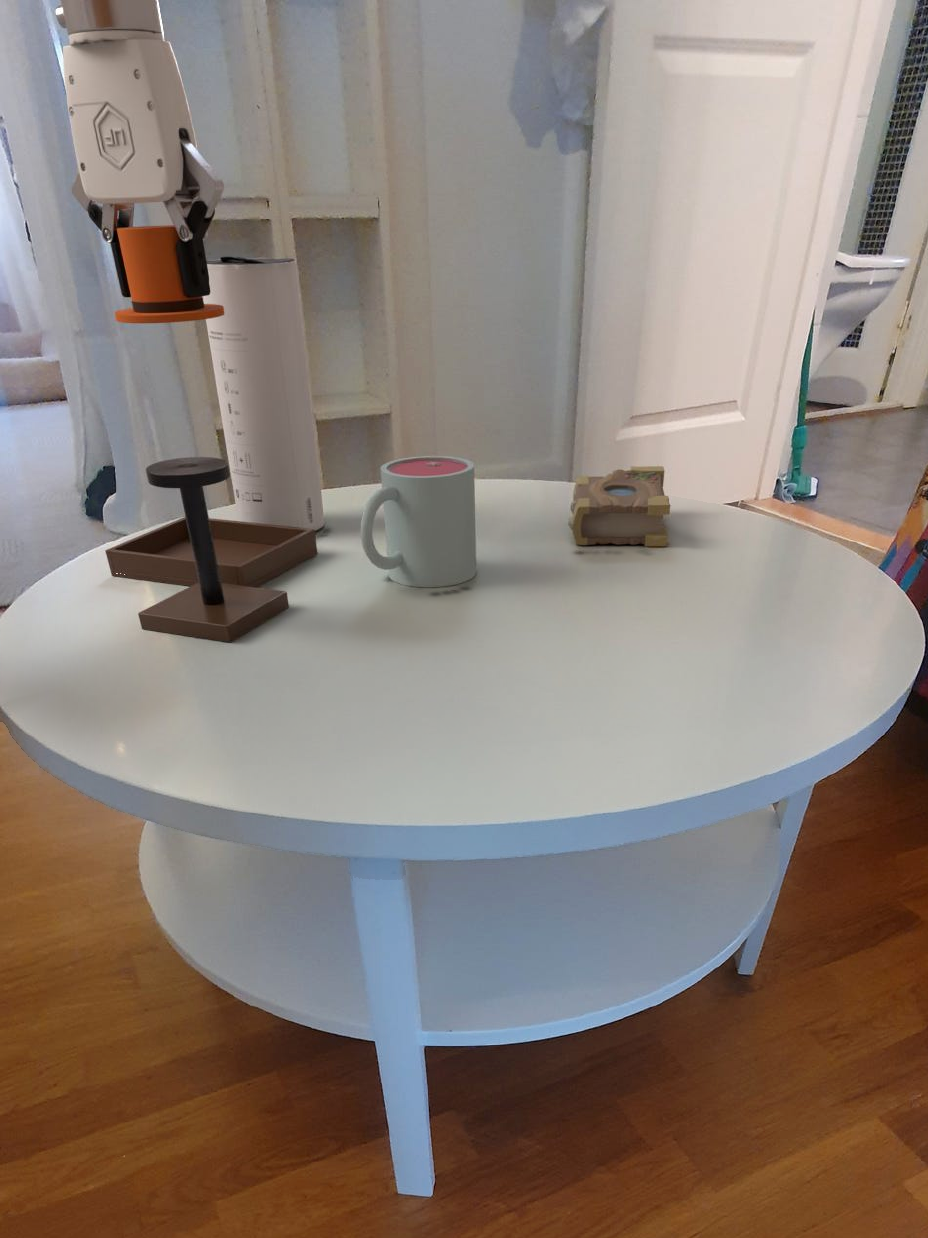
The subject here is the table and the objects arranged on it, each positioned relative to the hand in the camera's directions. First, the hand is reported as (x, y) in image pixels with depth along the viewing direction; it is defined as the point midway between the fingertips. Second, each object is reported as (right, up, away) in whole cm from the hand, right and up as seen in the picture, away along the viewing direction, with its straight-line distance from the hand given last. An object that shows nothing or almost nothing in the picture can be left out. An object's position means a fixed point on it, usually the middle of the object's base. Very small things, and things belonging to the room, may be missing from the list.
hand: (166, 294), depth 87 cm
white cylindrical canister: (+6, -9, +26) cm, 28 cm away
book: (+45, -11, +22) cm, 52 cm away
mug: (+23, -22, +10) cm, 33 cm away
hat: (0, -1, +1) cm, 2 cm away
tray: (+1, -18, +16) cm, 24 cm away
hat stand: (+4, -29, +3) cm, 29 cm away
